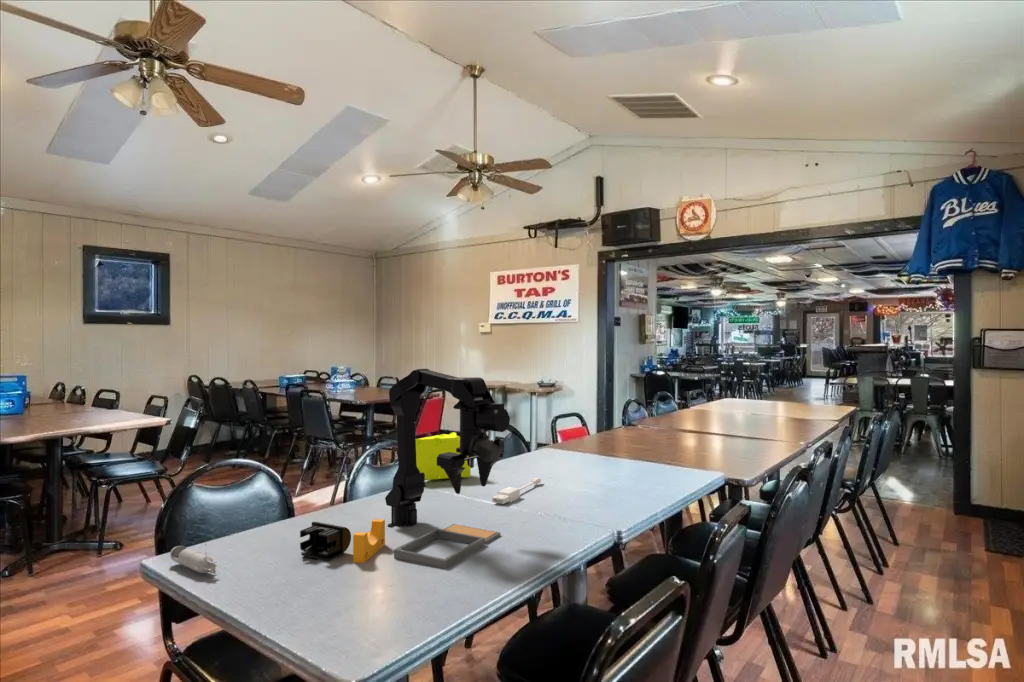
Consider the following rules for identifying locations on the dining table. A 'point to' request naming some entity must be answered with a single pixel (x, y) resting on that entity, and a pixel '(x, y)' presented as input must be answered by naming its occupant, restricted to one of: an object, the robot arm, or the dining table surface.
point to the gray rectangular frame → (407, 555)
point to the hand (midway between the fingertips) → (470, 489)
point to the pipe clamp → (369, 541)
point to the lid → (474, 532)
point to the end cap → (325, 541)
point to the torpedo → (193, 559)
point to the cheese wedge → (431, 449)
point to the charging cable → (512, 493)
